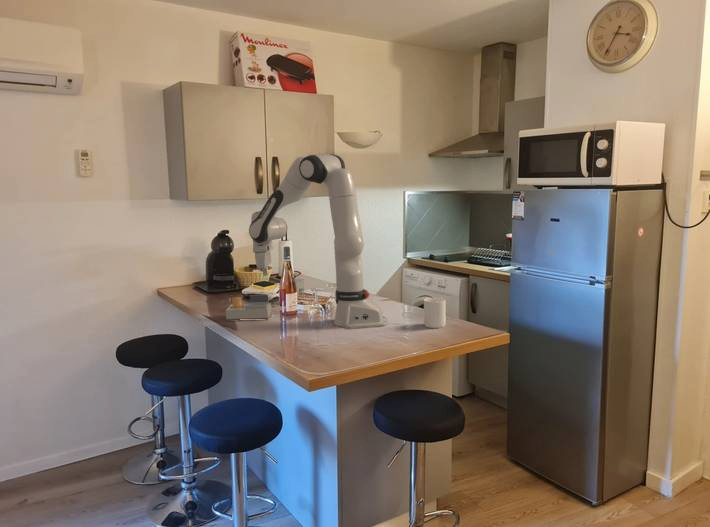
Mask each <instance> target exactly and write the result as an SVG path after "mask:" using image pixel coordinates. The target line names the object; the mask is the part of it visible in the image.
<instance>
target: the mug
mask: <svg viewBox="0 0 710 527" xmlns="http://www.w3.org/2000/svg"><path fill="white" fill-rule="evenodd" d="M446 306H447V305H446V299H445V298H442V297H426V298H424V299H423V325H424V326H425V327H426V328H428V329H441V328H444V327H445V326H446V309H447V308H446Z"/></svg>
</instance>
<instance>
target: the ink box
mask: <svg viewBox="0 0 710 527" xmlns="http://www.w3.org/2000/svg"><path fill="white" fill-rule="evenodd" d="M294 279H295V283H296V286H297V291H298V293H304V294H305V280H304V279H302V278H294Z"/></svg>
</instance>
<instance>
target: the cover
mask: <svg viewBox="0 0 710 527" xmlns="http://www.w3.org/2000/svg"><path fill="white" fill-rule="evenodd" d="M249 301H250V302H249V303H247V304H248V306H251V305H266V306H267V304H268V303H270V302H269V294H250V295H249Z"/></svg>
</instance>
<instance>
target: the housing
mask: <svg viewBox="0 0 710 527" xmlns="http://www.w3.org/2000/svg"><path fill="white" fill-rule="evenodd" d="M248 304H249V303H242V308H233V303H232V304H230V305H229V306H228V307H227V308H226V310H225V315H226V316H225V317H226V319H225V321H226V320H240V319H268V318H269V319H270V317H271V316H270V314H271V315H272V304H271V303H270V302H269V303H268V304H267V306H266V305H251V306H248ZM269 316H270V317H269ZM269 319H268V320H269Z"/></svg>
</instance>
